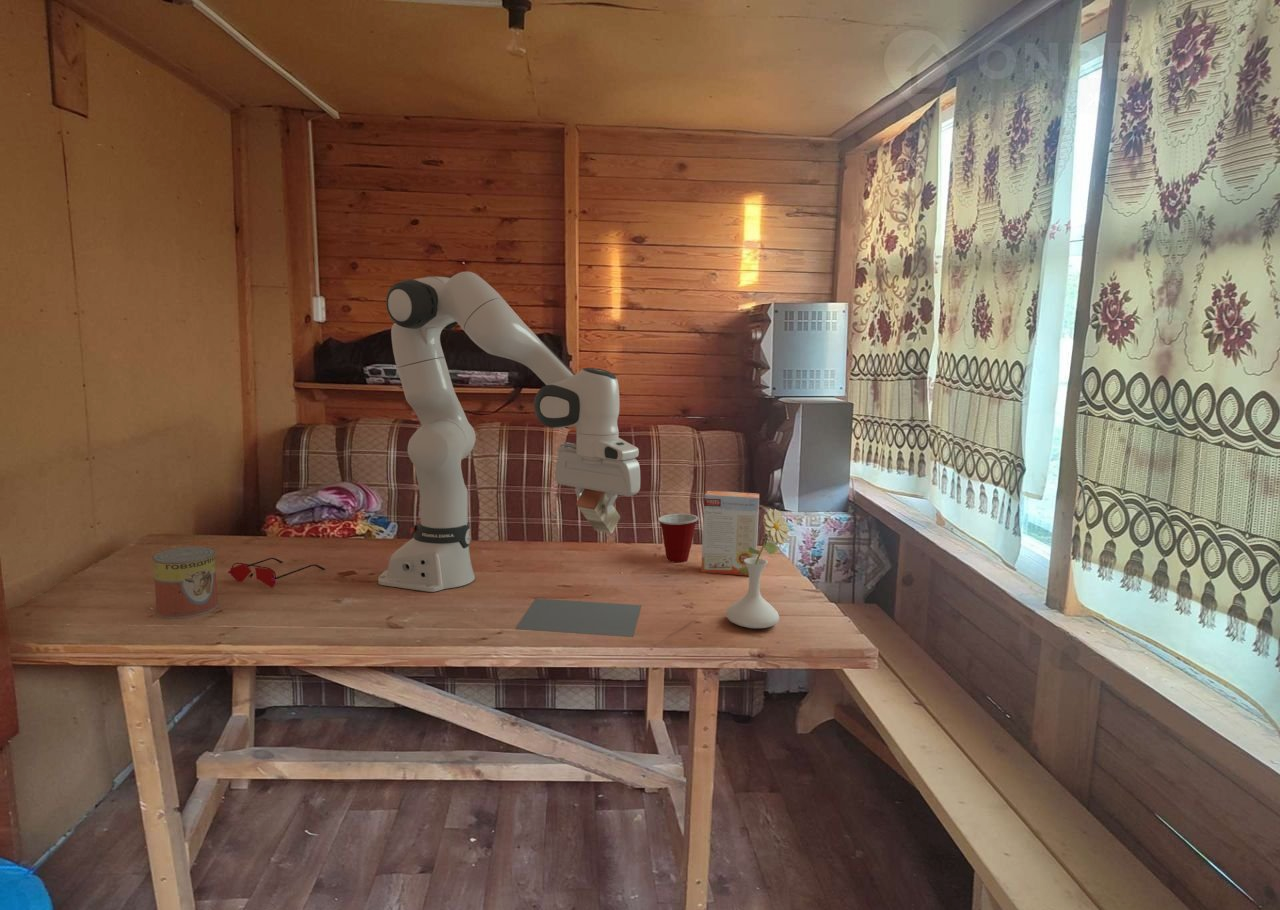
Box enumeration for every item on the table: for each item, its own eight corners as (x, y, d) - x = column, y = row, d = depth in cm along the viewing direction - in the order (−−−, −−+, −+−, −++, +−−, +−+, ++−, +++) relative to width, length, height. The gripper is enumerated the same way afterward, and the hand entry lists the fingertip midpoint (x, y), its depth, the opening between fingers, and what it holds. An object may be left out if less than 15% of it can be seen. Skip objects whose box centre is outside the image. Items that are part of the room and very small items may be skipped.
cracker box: (755, 570, 199) (760, 492, 196) (755, 577, 193) (759, 497, 190) (702, 565, 201) (706, 489, 198) (700, 572, 195) (704, 493, 192)
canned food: (176, 622, 152) (172, 565, 151) (144, 611, 158) (140, 555, 156) (229, 606, 162) (226, 552, 160) (198, 595, 168) (195, 543, 166)
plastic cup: (656, 553, 212) (658, 511, 210) (695, 554, 211) (697, 512, 210) (656, 564, 201) (657, 520, 199) (696, 566, 201) (698, 522, 199)
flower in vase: (743, 636, 155) (749, 517, 151) (715, 617, 165) (721, 505, 161) (796, 628, 160) (804, 513, 156) (766, 610, 170) (773, 501, 166)
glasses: (227, 582, 178) (226, 562, 177) (282, 563, 193) (281, 544, 192) (273, 590, 173) (272, 569, 172) (325, 570, 189) (325, 551, 188)
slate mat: (515, 632, 153) (515, 628, 153) (535, 601, 170) (535, 598, 170) (633, 640, 151) (633, 636, 151) (641, 608, 168) (641, 605, 168)
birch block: (611, 533, 163) (592, 507, 156) (595, 530, 165) (575, 504, 158) (620, 516, 165) (602, 490, 158) (604, 513, 167) (585, 487, 160)
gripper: (549, 442, 162) (548, 505, 164) (628, 453, 151) (626, 520, 153) (568, 439, 167) (566, 500, 169) (645, 450, 156) (643, 515, 158)
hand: (595, 510), depth 161 cm, fingers closed on birch block, 4 cm apart
